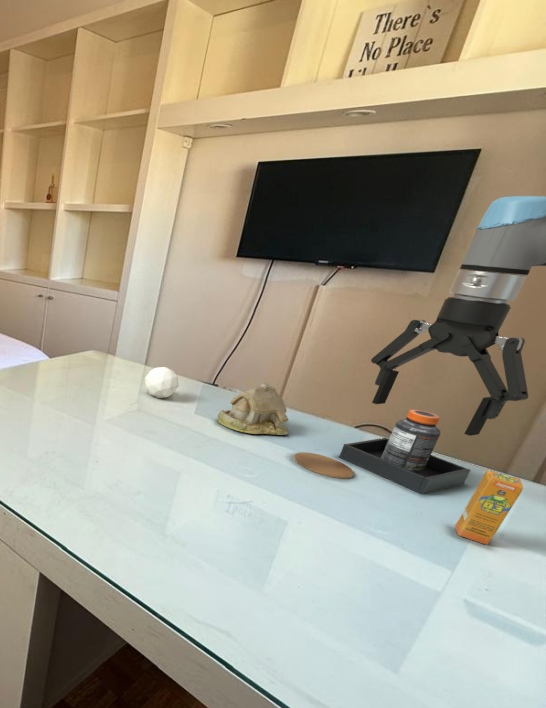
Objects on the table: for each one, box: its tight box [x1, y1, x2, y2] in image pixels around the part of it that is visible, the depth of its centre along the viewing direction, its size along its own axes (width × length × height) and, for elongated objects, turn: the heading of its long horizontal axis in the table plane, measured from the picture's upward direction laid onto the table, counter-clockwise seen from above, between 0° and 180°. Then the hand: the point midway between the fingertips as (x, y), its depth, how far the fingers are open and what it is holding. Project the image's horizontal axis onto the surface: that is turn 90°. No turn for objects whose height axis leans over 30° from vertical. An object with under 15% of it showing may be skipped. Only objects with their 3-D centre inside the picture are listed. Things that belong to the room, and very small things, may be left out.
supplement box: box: [455, 470, 524, 546], centre depth 65 cm, size 3×3×10 cm
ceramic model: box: [217, 382, 289, 436], centre depth 99 cm, size 14×11×10 cm
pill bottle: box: [381, 409, 441, 475], centre depth 83 cm, size 6×6×11 cm
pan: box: [338, 437, 471, 495], centre depth 85 cm, size 13×13×3 cm
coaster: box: [293, 452, 354, 480], centre depth 85 cm, size 9×9×1 cm
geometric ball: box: [144, 366, 179, 399], centre depth 114 cm, size 8×8×8 cm
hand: (421, 417), depth 82 cm, fingers open, 13 cm apart
